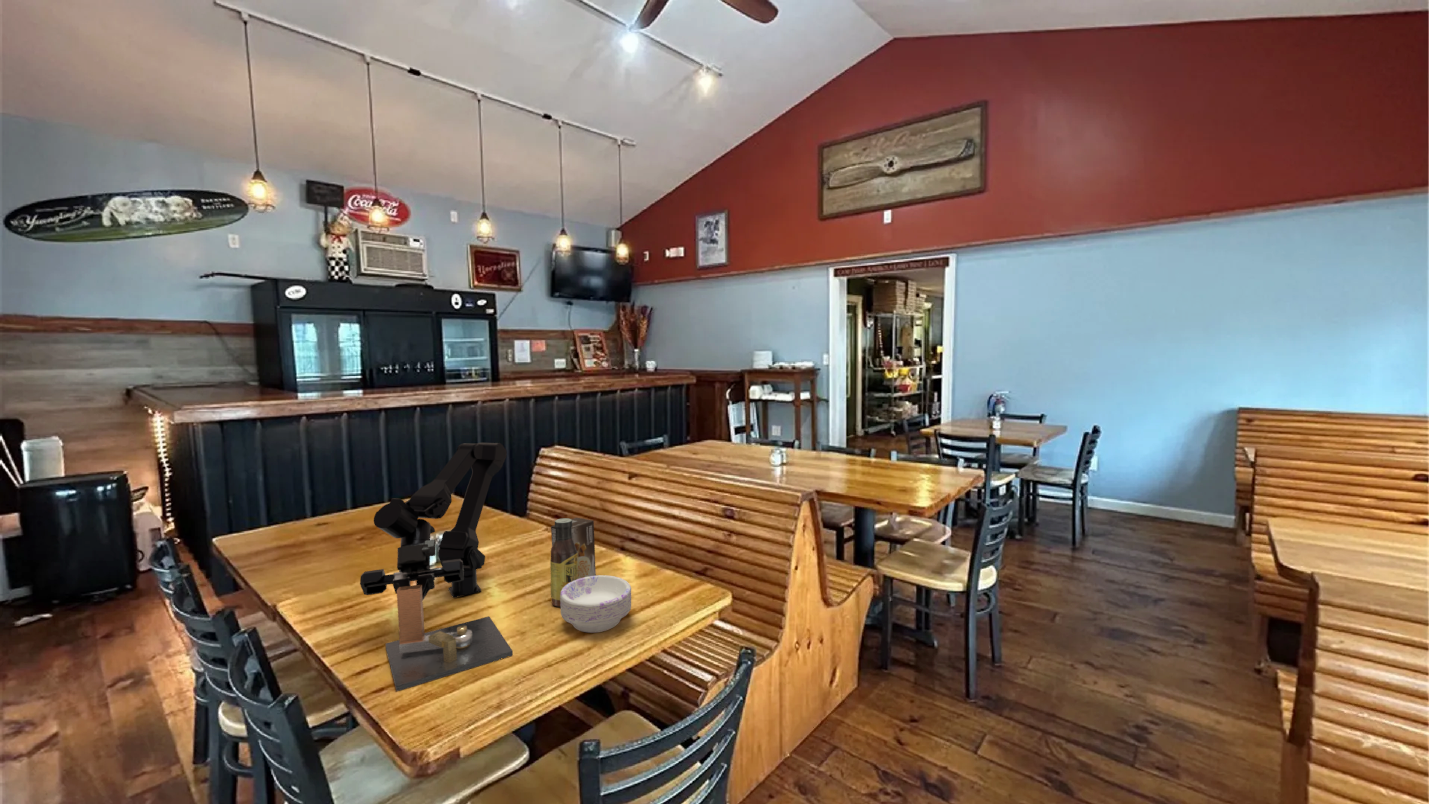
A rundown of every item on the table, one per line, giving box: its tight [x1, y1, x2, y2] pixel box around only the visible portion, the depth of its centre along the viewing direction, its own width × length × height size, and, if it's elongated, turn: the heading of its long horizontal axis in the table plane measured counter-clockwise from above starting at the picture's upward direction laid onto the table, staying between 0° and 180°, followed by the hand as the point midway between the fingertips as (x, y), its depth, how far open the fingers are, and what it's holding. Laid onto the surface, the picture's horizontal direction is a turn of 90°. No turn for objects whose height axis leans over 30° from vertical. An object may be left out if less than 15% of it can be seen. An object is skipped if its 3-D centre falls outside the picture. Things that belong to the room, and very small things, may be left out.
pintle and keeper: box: [428, 625, 470, 663], centre depth 110 cm, size 7×8×5 cm
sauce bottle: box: [549, 517, 578, 608], centre depth 133 cm, size 7×6×20 cm
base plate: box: [385, 616, 514, 692], centre depth 112 cm, size 18×20×1 cm
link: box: [396, 584, 472, 654], centre depth 111 cm, size 13×4×12 cm, turn 105°
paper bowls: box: [560, 574, 632, 634], centre depth 124 cm, size 15×15×8 cm
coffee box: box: [550, 517, 597, 579], centre depth 144 cm, size 9×6×16 cm
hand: (413, 616), depth 113 cm, fingers closed
